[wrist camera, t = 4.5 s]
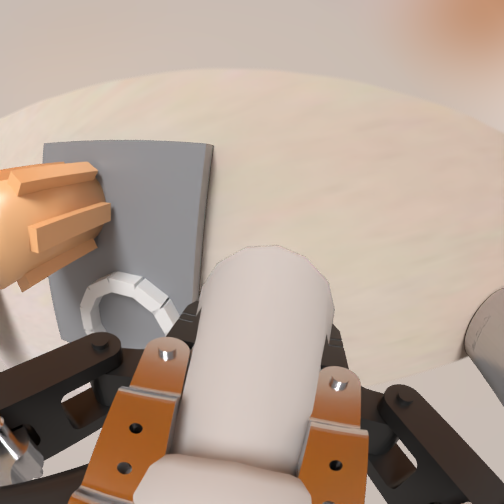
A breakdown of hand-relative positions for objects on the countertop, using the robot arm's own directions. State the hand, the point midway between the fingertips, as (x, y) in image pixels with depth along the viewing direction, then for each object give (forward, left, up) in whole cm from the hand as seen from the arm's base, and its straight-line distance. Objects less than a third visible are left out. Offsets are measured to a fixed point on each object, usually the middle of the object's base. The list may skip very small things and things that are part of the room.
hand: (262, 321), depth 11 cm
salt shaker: (0, 0, -3) cm, 3 cm away
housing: (+13, +4, -11) cm, 18 cm away
